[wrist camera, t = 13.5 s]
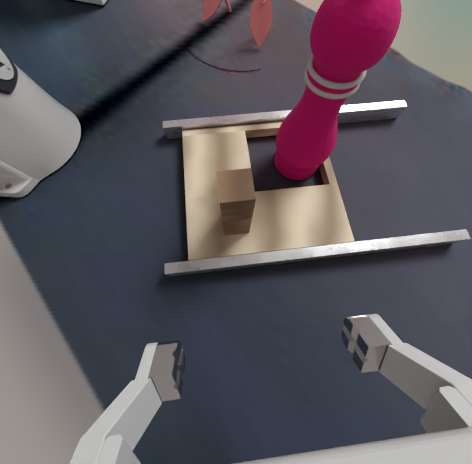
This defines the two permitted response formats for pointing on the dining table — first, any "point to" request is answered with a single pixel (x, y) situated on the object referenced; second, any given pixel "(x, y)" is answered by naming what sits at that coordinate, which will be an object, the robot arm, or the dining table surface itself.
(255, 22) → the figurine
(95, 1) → the tea box
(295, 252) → the runner track
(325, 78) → the pepper mill
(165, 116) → the dining table surface
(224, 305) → the dining table surface
